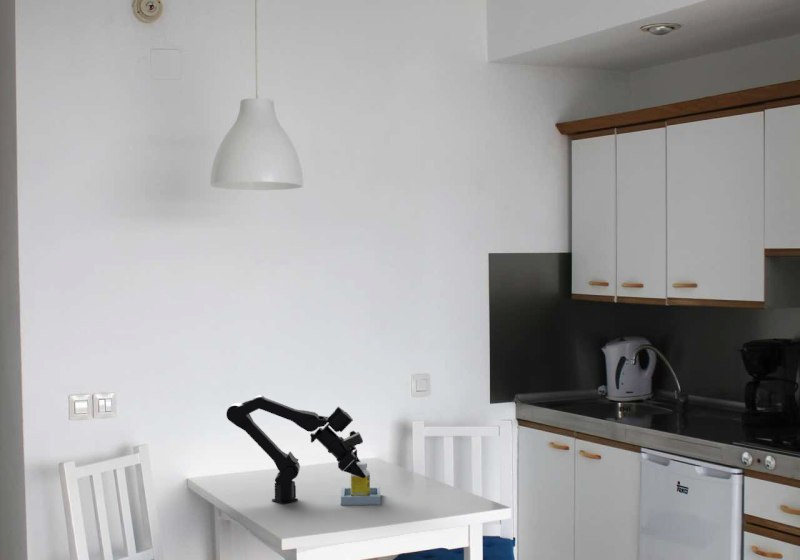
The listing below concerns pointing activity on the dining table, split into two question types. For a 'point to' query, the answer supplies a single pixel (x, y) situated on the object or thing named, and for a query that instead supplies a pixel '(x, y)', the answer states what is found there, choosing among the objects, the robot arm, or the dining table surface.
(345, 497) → the dish
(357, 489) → the pill bottle
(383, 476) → the dining table surface
